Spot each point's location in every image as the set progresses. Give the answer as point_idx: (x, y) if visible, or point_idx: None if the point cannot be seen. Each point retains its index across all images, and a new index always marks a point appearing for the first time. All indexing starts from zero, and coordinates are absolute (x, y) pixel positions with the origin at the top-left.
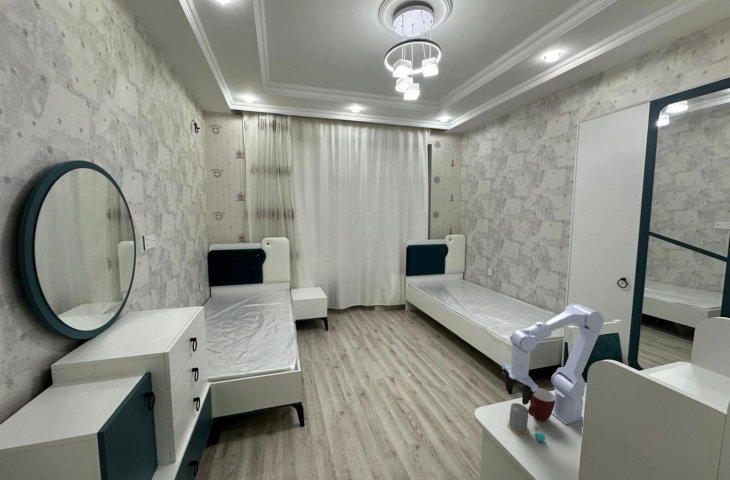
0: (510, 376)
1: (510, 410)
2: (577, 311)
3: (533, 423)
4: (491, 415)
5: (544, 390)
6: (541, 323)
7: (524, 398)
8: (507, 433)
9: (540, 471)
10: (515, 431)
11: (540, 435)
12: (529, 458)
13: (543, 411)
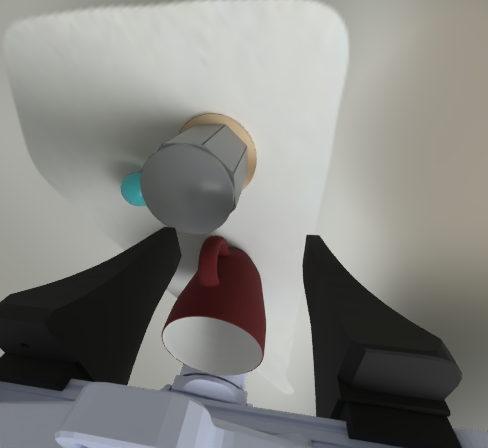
0: (124, 428)
1: (229, 158)
2: None
3: None
4: (314, 86)
5: (239, 368)
6: None
7: (122, 252)
8: (193, 78)
9: (11, 63)
10: (189, 123)
11: (123, 188)
12: (65, 69)
13: (189, 282)
